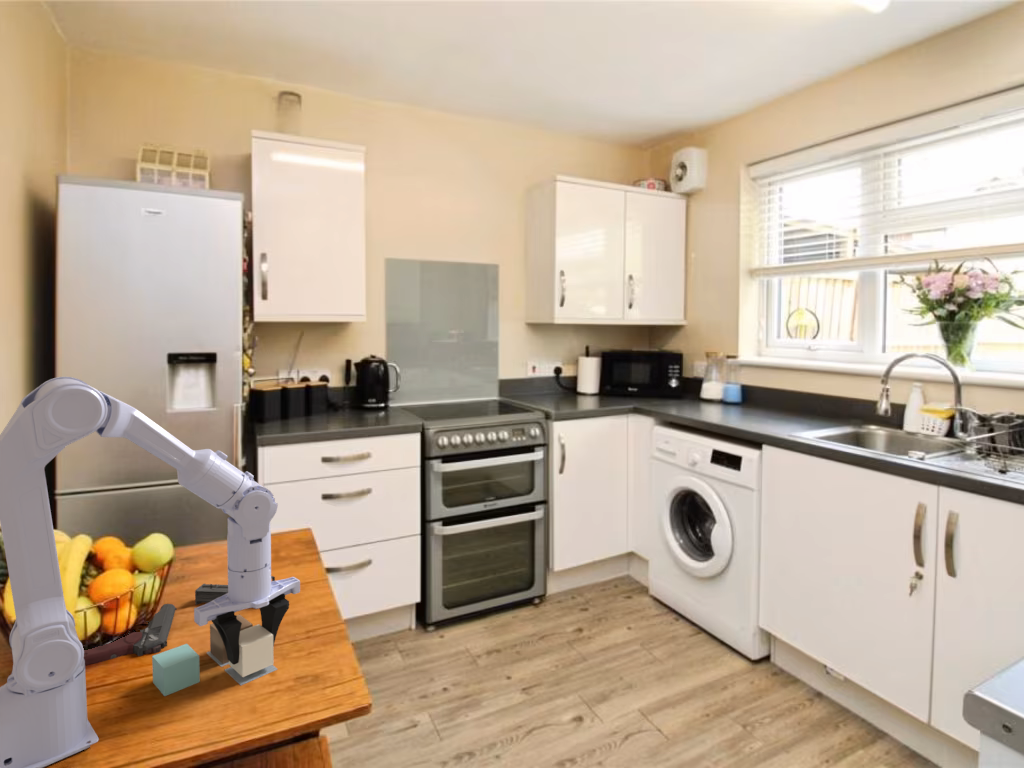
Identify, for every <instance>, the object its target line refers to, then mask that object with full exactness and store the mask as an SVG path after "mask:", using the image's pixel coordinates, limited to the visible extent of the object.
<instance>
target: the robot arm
mask: <svg viewBox="0 0 1024 768" xmlns="http://www.w3.org/2000/svg"><path fill="white" fill-rule="evenodd" d="M7 422H8V423H7V424H6V426H5V427H4V429H3V430H2V431H1V433H0V527H1V528H0V529H1V534H2V541H3V546H4V548H3V549H4V552H5V559H6V565H7V570H8V577H9V583H10V588H11V589H10V590H11V596H12V602H13V607H14V608H13V609H14V614H15V622H14V624H13V627H12V628H11V631H10V634H9V639H8V641H9V646H10V648H11V653H12V662H13V663H12V664H13V665H12V671H11V673H10V675H8V677H7V682H6V683H5V684H3V685H1V686H0V768H45V767H47V766H49V765H51V764H54V763H56V762H58V761H61V760H63V759H66V758H68V757H70V756H72V755H75V754H77V753H79V752H81V751H83V750H87V749H88V748H91V746H92V745H94V744H96V743H98V742H99V741H100V739H99V737H98V734H97V732H96V731H95V730H94V728H93V726H92V725H91V723H90V721H89V720H88V705H87V703H88V702H87V684H86V683H87V680H86V679H87V678H86V665H85V660H84V658H83V657H84V648H83V646H84V645H83V643H82V641H80V639H79V636H78V633H77V630H76V622H75V618H74V616H73V614H72V613H71V612H70V611H69V610H68V609H67V606H66V601H65V596H64V591H63V584H62V577H61V570H60V564H59V557H58V551H57V546H56V545H57V544H56V538H55V537H56V535H55V531H54V525H53V518H52V517H53V516H52V512H51V511H52V510H51V505H50V498H49V497H50V496H49V492H48V485H47V477H46V471H45V468H46V466H47V465H48V464H49V463H50V462H51V461H52V460H53V459H54V458H55V457H56V456H58V455H59V454H60V453H61V452H62V451H63V450H64V449H65V448H66V447H68V446H69V445H71V444H74V443H75V442H77V441H80V440H82V439H84V438H86V437H88V436H91V434H93V433H96V434H98V436H100V437H101V438H123V439H124V438H125V439H127V440H128V441H130V442H132V443H133V444H135V445H137V446H138V447H139V448H142V449H143V450H145V451H146V452H148V453H150V454H151V455H153V456H154V457H156V458H157V459H160V460H161V461H163V462H164V463H166V464H167V465H169V466H171V467H172V468H174V469H176V472H177V482H178V485H180V486H181V487H183V488H185V489H187V490H188V491H189V492H191V493H193V494H194V495H195V496H197V497H199V498H201V499H202V500H204V501H205V502H206V503H208V504H209V505H211V506H213V507H215V508H216V509H219V510H221V511H222V512H223V513H224V514H225V515H226V514H227V515H228V516H229V517H227V534H226V539H227V540H226V543H227V552H226V553H227V585H228V593H227V594H225V595H223V596H221V597H219V598H217V599H215V600H213V601H211V602H206V603H205V604H202V605H200V606H198V607H194V608H193V610H194V611H193V620H194V623H195V624H197V625H198V626H199V627H202V626H206V625H208V623H209V622H210V621H211V622H212V624H214V625H215V627H216V629H217V630H218V632H219V634H220V636H221V638H222V641H223V643H224V646H225V649H226V653H227V658H228V660H229V661H230V662H231V663H232V664H237V663H238V662H239V635H240V629H241V625H242V623H241V622H240V621H238V620H237V616H236V615H237V614H235V613H237V612H240V611H242V610H246V609H251V608H253V609H259V610H260V620H261V626H262V627H264V628H265V629H266V630H267V631H269V632H270V633H271V634H273V648H274V646H275V641H276V638H277V635H278V631H279V628H280V626H281V622H282V620H283V619H284V616H285V615H286V613H287V611H288V610H289V608H290V601H289V600H288V599H286V596H288V595H290V594H293V595H296V594H299V593H300V592H301V581H300V579H298V578H297V577H295V576H291V577H287V578H284V579H277V580H275V581H272V579H271V576H272V533H271V521H272V519H273V518H274V517H275V515H276V513H277V511H278V505H279V504H278V502H276V498H275V497H274V493H272V491H271V490H270V489H268V487H265V486H263V485H262V484H260V483H258V482H257V481H255V479H254V478H255V477H254V476H255V475H253V474H252V473H251V472H249V471H244V472H243V471H242V470H241V469H240V468H237V466H235V465H233V464H232V463H230V462H229V461H228V460H227V459H228V455H227V454H226V453H224V452H223V451H221V450H219V449H218V450H216V451H214V450H212V449H210V448H204V449H198V450H197V449H196V450H195V449H192V448H190V447H189V446H188V445H186V444H185V443H183V442H182V441H181V440H179V439H178V438H177V437H176V436H175V435H173V434H172V433H170V432H169V431H168V430H166V429H165V428H163V427H162V426H160V425H159V424H158V423H156V422H155V421H154V420H152V419H151V418H149V417H148V416H146V415H145V414H144V413H143V412H142V411H140V410H138V409H137V408H136V407H134V406H132V405H131V404H128V403H126V402H124V401H123V400H120V399H118V398H115V397H114V396H112V395H110V394H107V393H105V392H103V391H101V390H99V389H97V388H95V387H93V386H91V385H89V384H88V383H87V382H85V381H83V380H81V379H79V378H76V377H72V376H58V377H54V378H50V379H48V380H46V381H44V382H43V383H41V384H40V385H39V386H37V387H36V388H35V389H33V390H31V391H30V392H29V393H28V394H27V395H25V396H24V397H23V398H22V399H21V401H20V403H19V405H18V406H17V408H16V410H15V412H14V414H13V415H12V416H11V418H10V419H9V421H7Z"/></svg>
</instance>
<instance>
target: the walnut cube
mask: <svg viewBox="0 0 1024 768" xmlns="http://www.w3.org/2000/svg"><path fill="white" fill-rule="evenodd" d="M235 615H236V616H237V620H238V621H240V622H241V623H242V625H241V629H240V631H241V630H244V629H247V628H250V627H252V626H254V624H253V623H251V622H250V621H249V620H248V619H247V618H245V617H243V616H242V615H241V614H235ZM209 633H210V636H209V637H210V638H209V640H210V641H209V642H210V643H209V644H210V650H209V651H211V654H213V655H214V656H215V657H216V658H217V659H218V660H219V661H220V662H221V663H222V664H225V663H227V662H229V660H228V658H227V653H226V649H225V646H224V643H223V641H222V638H221V636H220V634H219V632H218V630H217V629H216V627H215V625H214V624H213V623H210V624H209Z"/></svg>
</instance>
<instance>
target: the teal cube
mask: <svg viewBox="0 0 1024 768" xmlns="http://www.w3.org/2000/svg"><path fill="white" fill-rule="evenodd" d="M151 658H152V663H151V664H152V683H153V684H154V686H155V687H156V688H157V689H158V690H159V692H160V693H161V694H162V695H163V696H164V697H166V696H170V695H171V694H174V693H176V692H179V691H180V690H183V689H186V688H188V687H191V686H194V685H196V684H198V683H201V681H200V680H201V679H200V677H201V675H200V669H201V668H200V655H199V654H198V653H197V652H196V651H195V650H194V649H193V648H192V647H191V646H190V645H189V644H188V643H185V644H181V645H179V646H175V647H173V648H170V649H168V650H165V651H162V652H158V653H155V654H154V655H152V656H151Z"/></svg>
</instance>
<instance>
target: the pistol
mask: <svg viewBox="0 0 1024 768" xmlns="http://www.w3.org/2000/svg"><path fill="white" fill-rule="evenodd" d="M177 609H178V608H177V607H176V606H175V604H172V603H164V604H163V605H162V606H161V607H160V609H159V611H158V612H156V613H155V614H154V615H153V617H152V619H151V620H149V621H150V622H149V621H148V622H149V623H148V625H147V627H145V628H144V629H139V630H140V632H135V631H133V632H131V633H128V634H129V635H127V636H125V637H123V636H121V637H122V638H120V637H119V638H120V639H118V640H116V641H114V642H112V643H109V644H106V645H103V646H98V647H95V648H92V649H88V650H84V657H83V658H84V660H85V666H88V665H93V664H97V663H100V662H101V663H103V662H105V661H109V660H113V659H116V658H120V657H123V656H128V655H134V654H135V655H137V657H142V656H143V655H148V654H151V653H153V654H159V653H161V651H162V649H164V648H166V647H168V641H167V640H168V637H169V634H170V630H171V627H172V624H173V621H174V617H175V612H176V610H177Z"/></svg>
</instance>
